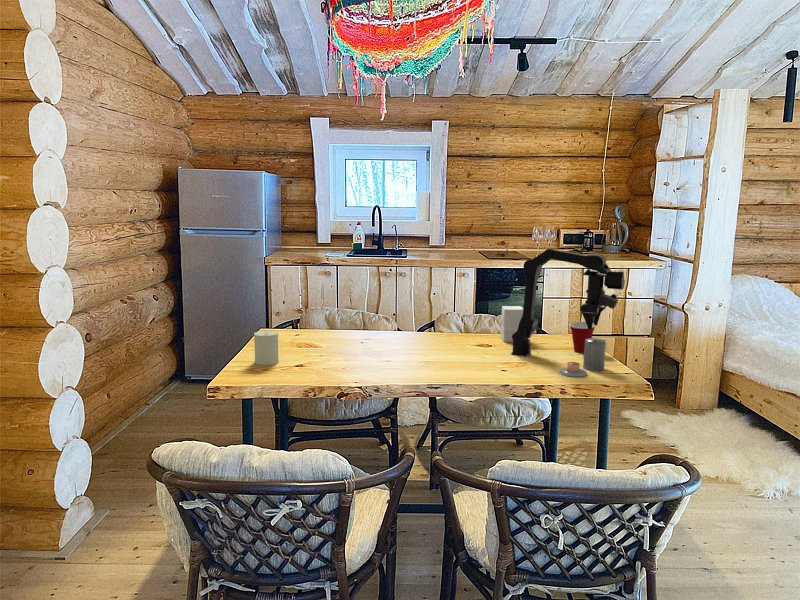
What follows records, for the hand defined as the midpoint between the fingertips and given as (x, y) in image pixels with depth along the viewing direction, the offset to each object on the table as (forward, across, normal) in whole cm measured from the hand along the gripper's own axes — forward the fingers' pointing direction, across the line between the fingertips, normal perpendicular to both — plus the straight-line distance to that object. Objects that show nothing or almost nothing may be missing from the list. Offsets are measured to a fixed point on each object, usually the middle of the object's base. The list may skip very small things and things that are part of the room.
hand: (592, 327), depth 247 cm
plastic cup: (+15, +18, +8) cm, 25 cm away
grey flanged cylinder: (+15, -6, -3) cm, 16 cm away
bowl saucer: (+15, -17, +2) cm, 23 cm away
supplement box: (+15, +22, +40) cm, 48 cm away
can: (+15, -66, +107) cm, 127 cm away
